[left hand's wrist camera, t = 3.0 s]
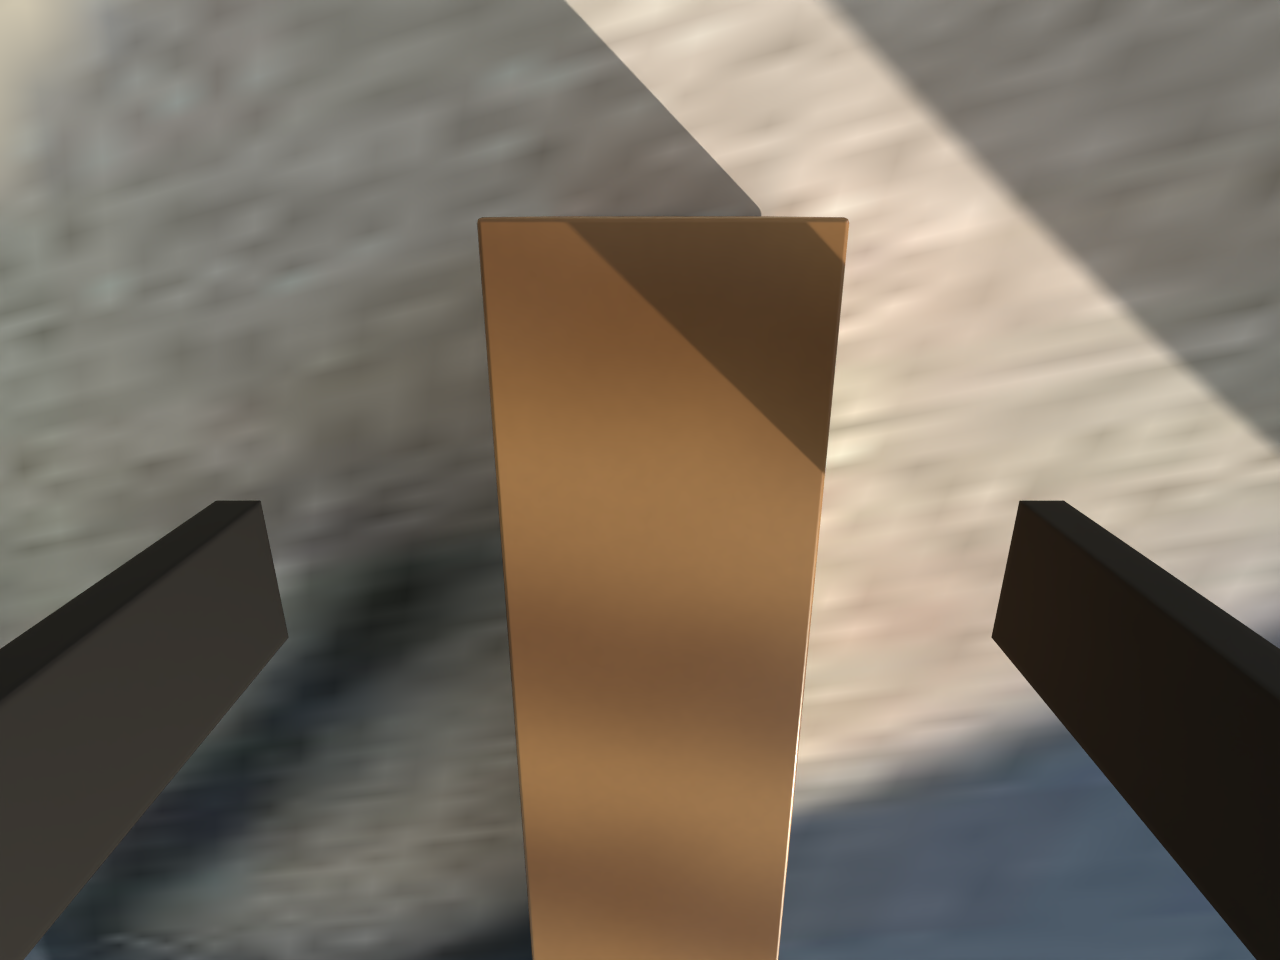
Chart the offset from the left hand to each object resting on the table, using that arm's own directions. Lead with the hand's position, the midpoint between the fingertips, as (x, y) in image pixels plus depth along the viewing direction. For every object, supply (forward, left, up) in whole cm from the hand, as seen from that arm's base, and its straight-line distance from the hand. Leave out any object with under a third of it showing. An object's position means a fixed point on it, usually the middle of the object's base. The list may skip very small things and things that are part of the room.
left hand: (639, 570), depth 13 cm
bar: (+3, +28, -8) cm, 29 cm away
